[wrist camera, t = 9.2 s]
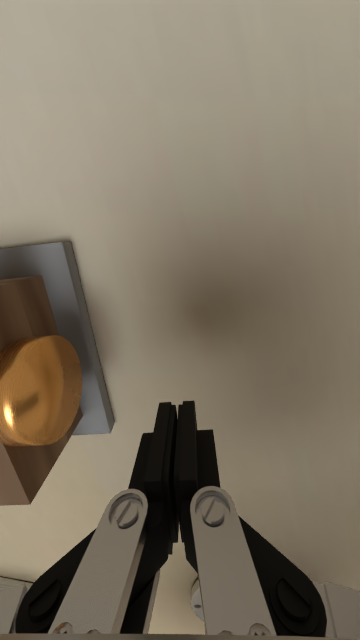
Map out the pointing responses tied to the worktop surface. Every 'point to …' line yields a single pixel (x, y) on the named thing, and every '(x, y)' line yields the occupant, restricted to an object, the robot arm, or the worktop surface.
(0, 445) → the bearing block
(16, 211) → the worktop surface
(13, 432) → the shaft
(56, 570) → the robot arm
